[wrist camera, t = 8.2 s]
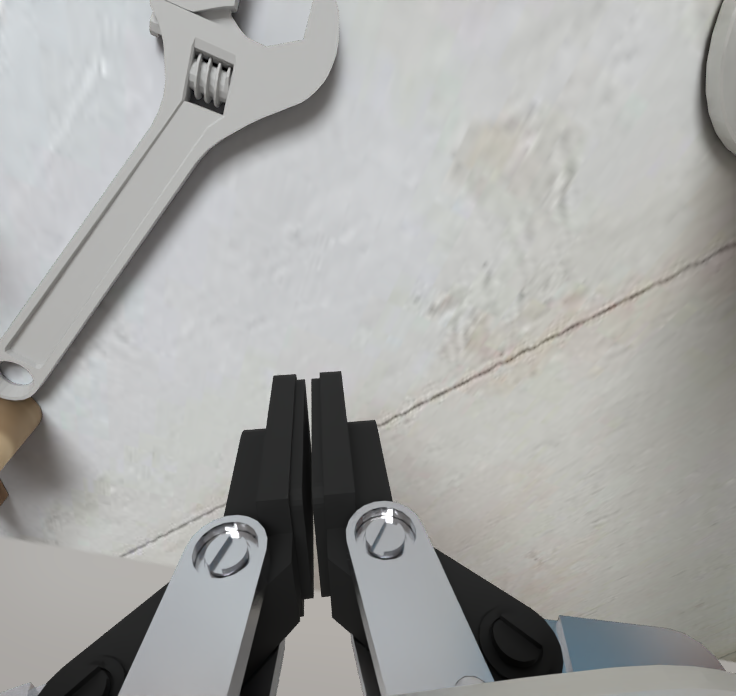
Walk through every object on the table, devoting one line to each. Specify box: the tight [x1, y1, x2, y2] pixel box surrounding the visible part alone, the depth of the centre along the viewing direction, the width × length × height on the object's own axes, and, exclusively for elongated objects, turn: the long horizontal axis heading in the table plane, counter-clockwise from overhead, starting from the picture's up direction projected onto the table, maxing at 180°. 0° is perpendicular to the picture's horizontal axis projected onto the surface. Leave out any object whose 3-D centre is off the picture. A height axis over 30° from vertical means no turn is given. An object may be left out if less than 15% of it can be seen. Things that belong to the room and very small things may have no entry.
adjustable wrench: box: [0, 0, 339, 400], centre depth 20 cm, size 25×6×2 cm, turn 132°
